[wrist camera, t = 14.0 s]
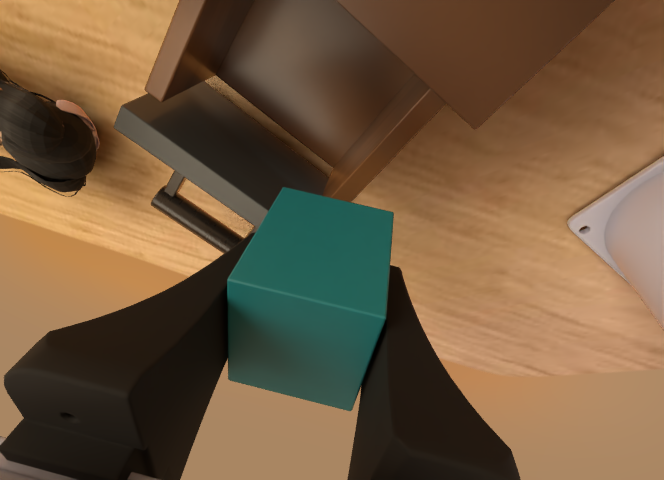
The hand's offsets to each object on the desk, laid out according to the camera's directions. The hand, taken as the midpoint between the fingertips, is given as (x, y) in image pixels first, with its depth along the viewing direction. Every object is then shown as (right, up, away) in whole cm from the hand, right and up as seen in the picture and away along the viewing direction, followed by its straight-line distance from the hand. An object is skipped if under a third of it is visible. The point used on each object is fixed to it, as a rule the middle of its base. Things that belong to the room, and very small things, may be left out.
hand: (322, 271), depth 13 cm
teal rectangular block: (0, +1, +1) cm, 1 cm away
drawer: (-2, +8, +6) cm, 11 cm away
